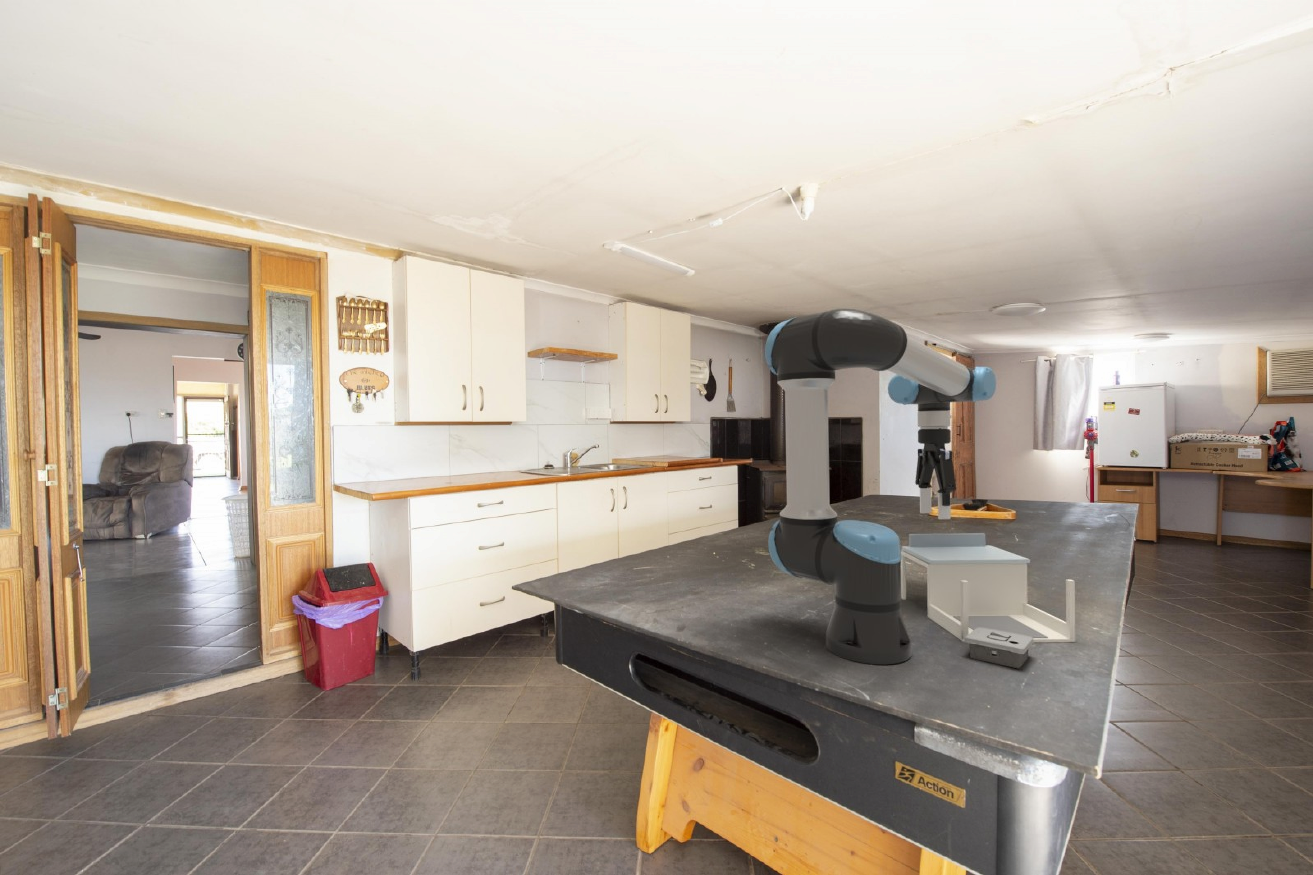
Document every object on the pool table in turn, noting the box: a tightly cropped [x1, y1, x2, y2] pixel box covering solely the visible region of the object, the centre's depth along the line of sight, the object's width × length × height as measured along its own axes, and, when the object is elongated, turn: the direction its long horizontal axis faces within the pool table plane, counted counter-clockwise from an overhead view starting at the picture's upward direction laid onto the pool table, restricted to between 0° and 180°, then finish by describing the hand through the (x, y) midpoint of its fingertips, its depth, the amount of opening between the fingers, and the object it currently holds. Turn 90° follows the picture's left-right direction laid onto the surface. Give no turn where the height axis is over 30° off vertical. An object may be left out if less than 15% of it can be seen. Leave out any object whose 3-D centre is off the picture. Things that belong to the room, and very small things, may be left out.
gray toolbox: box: [964, 627, 1035, 669], centre depth 104 cm, size 9×5×9 cm
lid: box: [901, 532, 1031, 564], centre depth 132 cm, size 22×15×4 cm
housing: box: [900, 549, 1076, 643], centre depth 126 cm, size 22×29×12 cm
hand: (934, 515), depth 146 cm, fingers open, 9 cm apart
